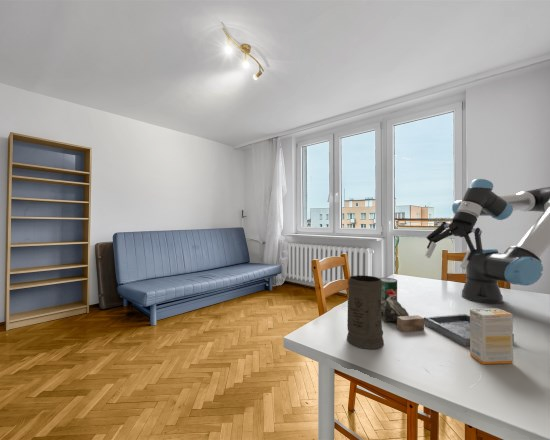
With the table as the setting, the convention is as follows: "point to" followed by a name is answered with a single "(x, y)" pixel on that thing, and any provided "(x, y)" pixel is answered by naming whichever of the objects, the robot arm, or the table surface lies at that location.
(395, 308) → the fossil
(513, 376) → the table surface
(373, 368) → the table surface
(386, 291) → the canned tomato
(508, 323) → the supplement box
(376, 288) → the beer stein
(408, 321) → the cradle
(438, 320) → the dish
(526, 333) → the table surface
